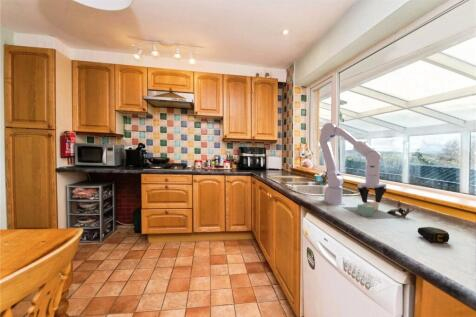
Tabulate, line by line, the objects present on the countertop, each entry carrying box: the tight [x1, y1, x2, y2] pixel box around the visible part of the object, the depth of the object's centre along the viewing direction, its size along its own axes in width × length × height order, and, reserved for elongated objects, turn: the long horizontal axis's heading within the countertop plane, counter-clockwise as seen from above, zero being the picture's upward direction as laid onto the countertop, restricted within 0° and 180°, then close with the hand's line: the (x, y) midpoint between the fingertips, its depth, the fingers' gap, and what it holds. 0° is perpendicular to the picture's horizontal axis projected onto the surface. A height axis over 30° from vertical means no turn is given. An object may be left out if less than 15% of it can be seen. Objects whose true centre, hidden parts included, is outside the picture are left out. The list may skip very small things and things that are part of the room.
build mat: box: [341, 206, 401, 220], centre depth 101 cm, size 18×16×1 cm
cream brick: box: [363, 199, 380, 210], centre depth 107 cm, size 4×4×4 cm
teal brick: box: [356, 204, 374, 217], centre depth 97 cm, size 4×4×4 cm
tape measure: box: [417, 226, 450, 244], centre depth 71 cm, size 7×7×4 cm
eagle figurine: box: [387, 200, 416, 219], centre depth 98 cm, size 8×8×10 cm
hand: (371, 202), depth 106 cm, fingers open, 7 cm apart
